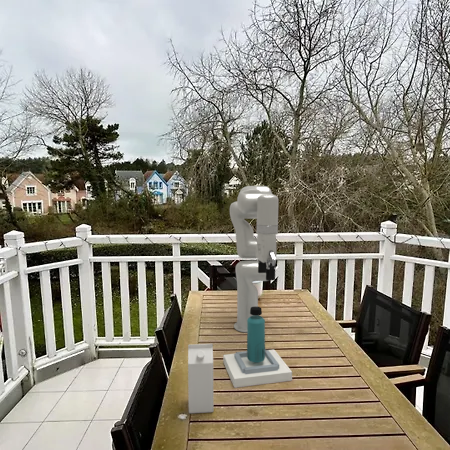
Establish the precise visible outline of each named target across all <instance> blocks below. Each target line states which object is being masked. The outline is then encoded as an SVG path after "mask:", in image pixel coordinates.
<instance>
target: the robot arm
mask: <svg viewBox="0 0 450 450" xmlns="http://www.w3.org/2000/svg"><path fill="white" fill-rule="evenodd" d="M236 199H237V201H234V202H232V203H231V204H230V206H229V217H230V220H231V223H232V225H233V228H234V231H235V240H236V242H235V243H236V253H237V256H238V257H239V258H241V259H254V260H241V261H239V262H238V263H237V264H236V265H235V278H236V287H237V288H236V291H237V296H236V297H237V298H236V299H237V301H236V302H237V307H236V310H237V311H236V312H237V313H236V316H237V319H236V322H235V323H234V324H233V328H234V329H235V330H236V331H237V332H241V333H247V319H248V318H249V317H250V316H253V315H251V314H250V309H251V307H255V306H256V307H259V289H258V288H257V286H256V285H255V284H254V283H253V282H269V281H275V280H276V266H277V263H276V262H277V235H278V233H279V232H278V229H279V197H278V196H277V195H275V194H273V193H272V190H271V188H270V187H269V186H267V185H247V186H244V187H243V188H241V189H240V191H239V193H238V195H237V198H236ZM245 219H246V220H245ZM247 219H249V220H250V219H251V220H252V219H253V220H254V219H256V234H257V235H256V237H255V235H254V228H253V226H252V225H251V224H250V223H249V222H248V221H247ZM255 259H257V260H255Z"/></svg>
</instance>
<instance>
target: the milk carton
mask: <svg viewBox="0 0 450 450" xmlns="http://www.w3.org/2000/svg"><path fill="white" fill-rule="evenodd" d="M213 349H214V347H213V343H202V344H201V343H200V344H199V343H198V344H197V343H196V344H195V343H194V344H188V347H187V350H188V351H187V353H188V354H187V355H188V356H187V360H188V361H187V369H188V371H187V372H188V373H187V375H188V376H187V384H188V388H187V389H188V414H201V413H214V351H213Z"/></svg>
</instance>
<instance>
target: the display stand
mask: <svg viewBox="0 0 450 450" xmlns="http://www.w3.org/2000/svg"><path fill="white" fill-rule="evenodd" d="M222 361H223V362H222V363H223V365H224V367H225V369H226V371H227V375H228V376H229V379H230V381H231V383H232V385H233V388H234V389H236V388H243V387H250V386H251V387H252V386H258V385H259V386H260V385H265V384H266V385H268V384H274V383H283V382H290V381H293V371H292V370H291V368H290V367H289V366H288V365H287V364H286V362H285V361H284V360H283V359H282V357H281V356H280V355H279V353H278V352H277V351H276V350H275V349H266V348H265V359H264V361H262V362H258V363H256V362H251V361H249V360H248V358H247V350H245V351H236V352H235V353H229V354H223V359H222Z"/></svg>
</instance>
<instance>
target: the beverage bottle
mask: <svg viewBox="0 0 450 450" xmlns="http://www.w3.org/2000/svg"><path fill="white" fill-rule="evenodd" d="M250 314H251V315H253V316H250V317H249V318H248V319H247V334H246V335H247V336H246V351H247V358H248V360H249V361H251V362H256V363H258V362H262V361H264V359H265V349H266V328H265V327H266V325H265V324H266V323H265V322H266V320H265V318H264V317H263V316H262V314H263V310H262V307H260V306H258V307H256V306H255V307H251V309H250Z"/></svg>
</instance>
